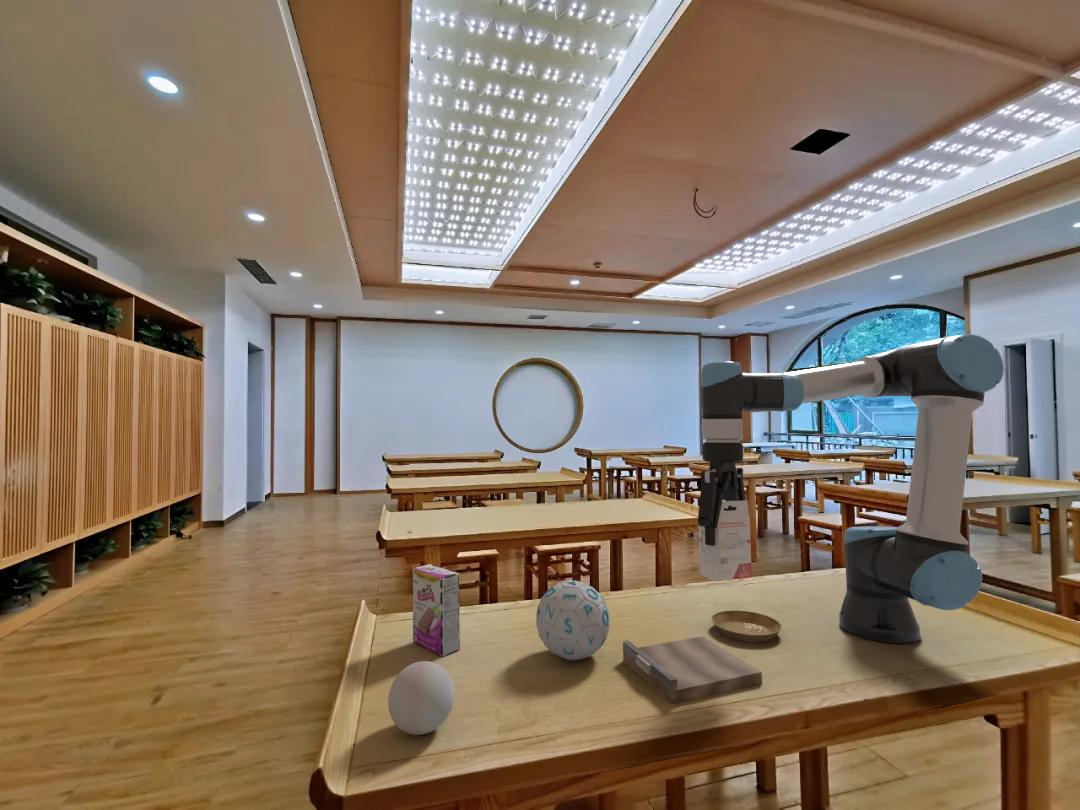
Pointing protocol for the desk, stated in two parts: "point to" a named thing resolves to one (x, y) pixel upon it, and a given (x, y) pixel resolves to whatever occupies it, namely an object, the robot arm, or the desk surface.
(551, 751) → the desk surface
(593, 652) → the puzzle ball
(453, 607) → the candy bar box
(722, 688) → the flat brown box
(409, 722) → the grey sphere
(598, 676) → the desk surface
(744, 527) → the ink cartridge box
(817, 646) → the desk surface
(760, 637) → the plant saucer
